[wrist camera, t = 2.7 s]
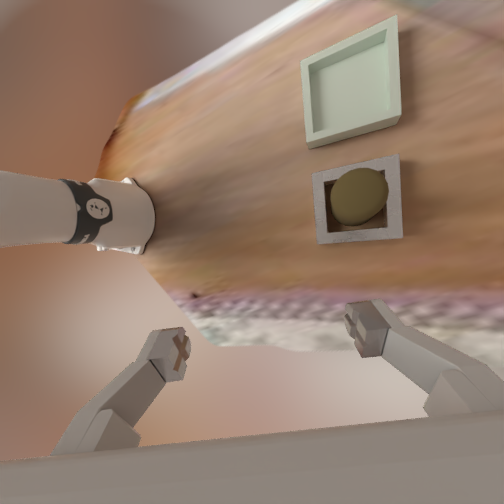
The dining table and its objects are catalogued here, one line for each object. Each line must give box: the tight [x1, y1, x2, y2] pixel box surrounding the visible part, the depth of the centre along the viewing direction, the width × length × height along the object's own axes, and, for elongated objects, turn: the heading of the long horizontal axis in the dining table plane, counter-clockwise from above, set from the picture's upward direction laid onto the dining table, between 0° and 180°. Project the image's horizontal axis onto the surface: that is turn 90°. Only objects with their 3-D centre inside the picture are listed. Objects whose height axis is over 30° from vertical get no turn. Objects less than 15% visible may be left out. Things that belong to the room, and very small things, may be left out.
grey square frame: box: [312, 154, 403, 244], centre depth 27 cm, size 10×10×2 cm
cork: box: [330, 168, 389, 226], centre depth 23 cm, size 6×6×11 cm
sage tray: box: [300, 14, 402, 149], centre depth 26 cm, size 11×11×2 cm
